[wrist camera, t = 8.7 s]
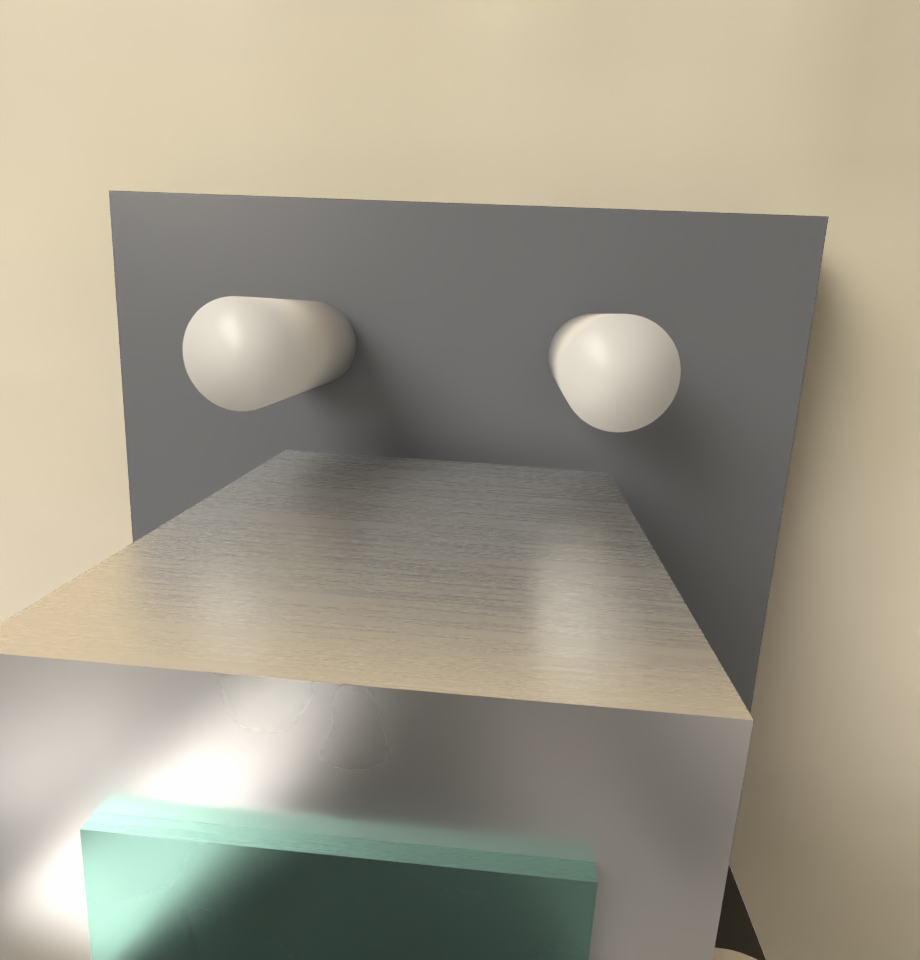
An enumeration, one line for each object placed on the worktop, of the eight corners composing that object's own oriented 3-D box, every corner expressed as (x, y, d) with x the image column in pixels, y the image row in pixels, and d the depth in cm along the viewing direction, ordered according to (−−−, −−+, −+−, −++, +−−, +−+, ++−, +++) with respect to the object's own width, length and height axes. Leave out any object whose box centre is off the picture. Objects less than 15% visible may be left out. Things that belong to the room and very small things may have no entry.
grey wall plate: (160, 205, 11) (-58, 141, 7) (785, 229, 11) (969, 173, 6) (201, 988, 15) (75, 1259, 11) (668, 1039, 15) (734, 1349, 10)
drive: (284, 449, 10) (-64, 661, 4) (608, 471, 10) (763, 735, 4) (288, 965, 12) (66, 1611, 6) (552, 995, 12) (592, 1702, 6)
